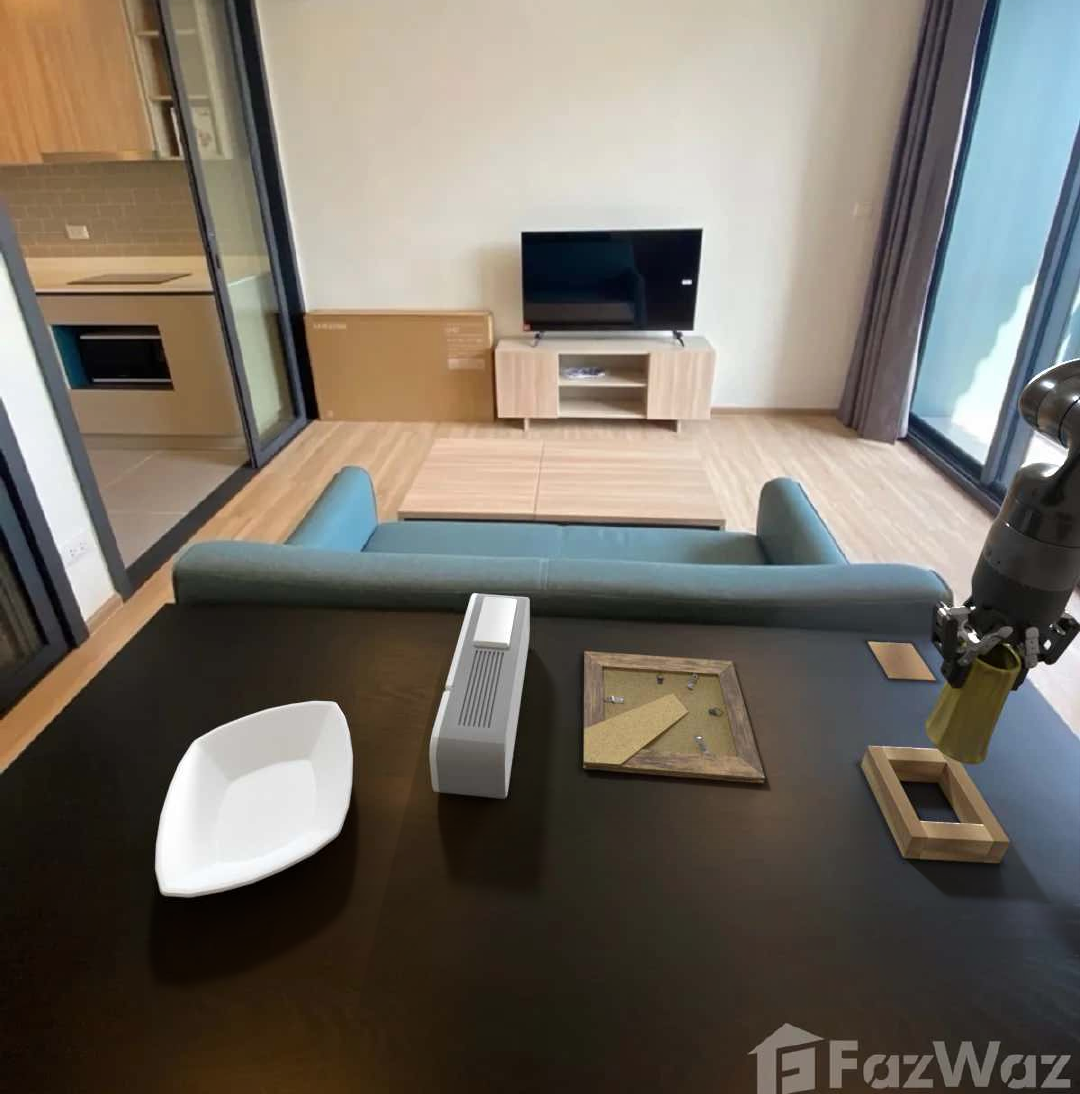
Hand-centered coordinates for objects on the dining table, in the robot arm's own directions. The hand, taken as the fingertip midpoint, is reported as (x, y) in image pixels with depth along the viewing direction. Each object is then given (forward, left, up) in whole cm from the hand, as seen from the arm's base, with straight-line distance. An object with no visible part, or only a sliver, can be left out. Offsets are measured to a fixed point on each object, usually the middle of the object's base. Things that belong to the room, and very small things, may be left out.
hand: (978, 682), depth 65 cm
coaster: (-9, -23, -23) cm, 34 cm away
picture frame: (+31, -12, -23) cm, 40 cm away
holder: (0, 0, -23) cm, 23 cm away
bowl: (+83, +4, -23) cm, 86 cm away
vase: (0, 0, -10) cm, 10 cm away
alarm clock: (+57, -11, -23) cm, 63 cm away
